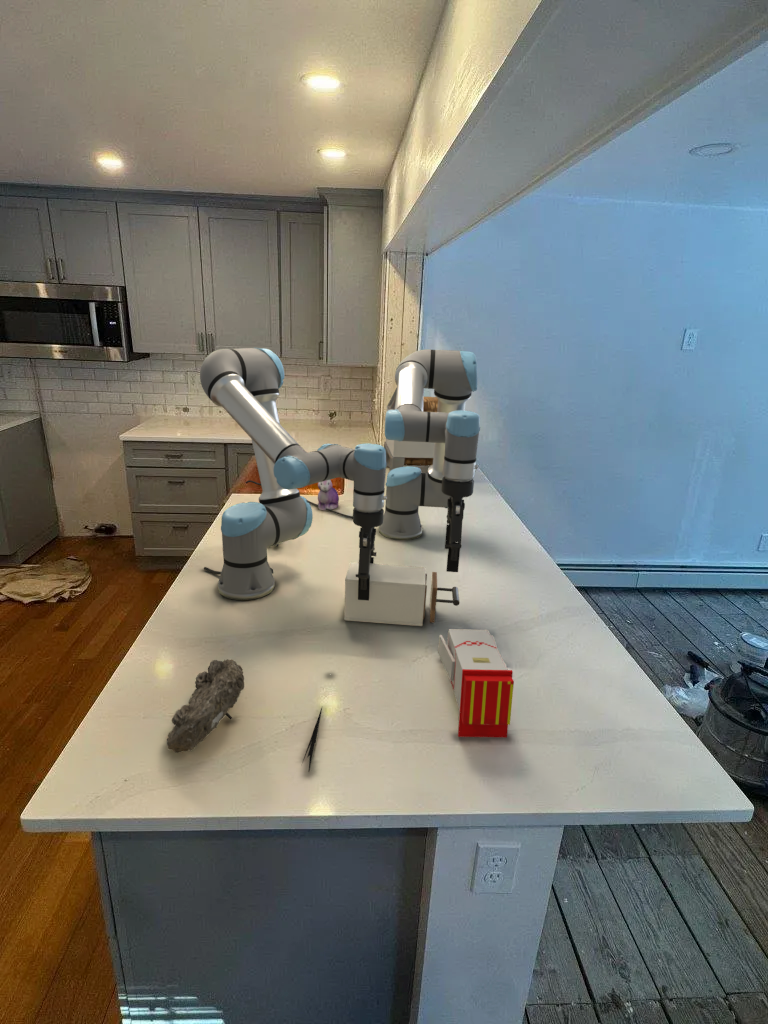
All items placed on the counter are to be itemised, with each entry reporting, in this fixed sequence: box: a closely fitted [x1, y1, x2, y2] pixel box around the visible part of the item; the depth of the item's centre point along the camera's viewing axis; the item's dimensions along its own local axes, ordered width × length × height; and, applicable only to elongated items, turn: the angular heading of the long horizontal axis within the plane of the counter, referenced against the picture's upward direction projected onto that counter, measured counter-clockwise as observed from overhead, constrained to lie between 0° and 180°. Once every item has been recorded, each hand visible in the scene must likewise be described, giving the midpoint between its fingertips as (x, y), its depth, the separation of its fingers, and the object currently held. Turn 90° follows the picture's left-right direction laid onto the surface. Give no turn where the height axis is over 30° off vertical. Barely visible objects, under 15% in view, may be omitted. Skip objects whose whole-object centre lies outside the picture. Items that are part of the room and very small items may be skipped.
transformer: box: [383, 387, 438, 472], centre depth 268 cm, size 34×33×41 cm
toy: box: [437, 628, 515, 738], centre depth 117 cm, size 12×13×30 cm
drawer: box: [423, 571, 461, 624], centre depth 145 cm, size 24×9×10 cm, turn 86°
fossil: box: [166, 658, 245, 754], centre depth 106 cm, size 22×10×15 cm
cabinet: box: [343, 561, 427, 627], centre depth 146 cm, size 20×10×12 cm, turn 86°
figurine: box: [317, 479, 340, 511], centre depth 220 cm, size 9×10×15 cm
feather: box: [301, 673, 332, 771], centre depth 108 cm, size 2×28×2 cm
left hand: (365, 589), depth 146 cm, fingers closed on cabinet, 10 cm apart
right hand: (450, 559), depth 141 cm, fingers open, 13 cm apart
